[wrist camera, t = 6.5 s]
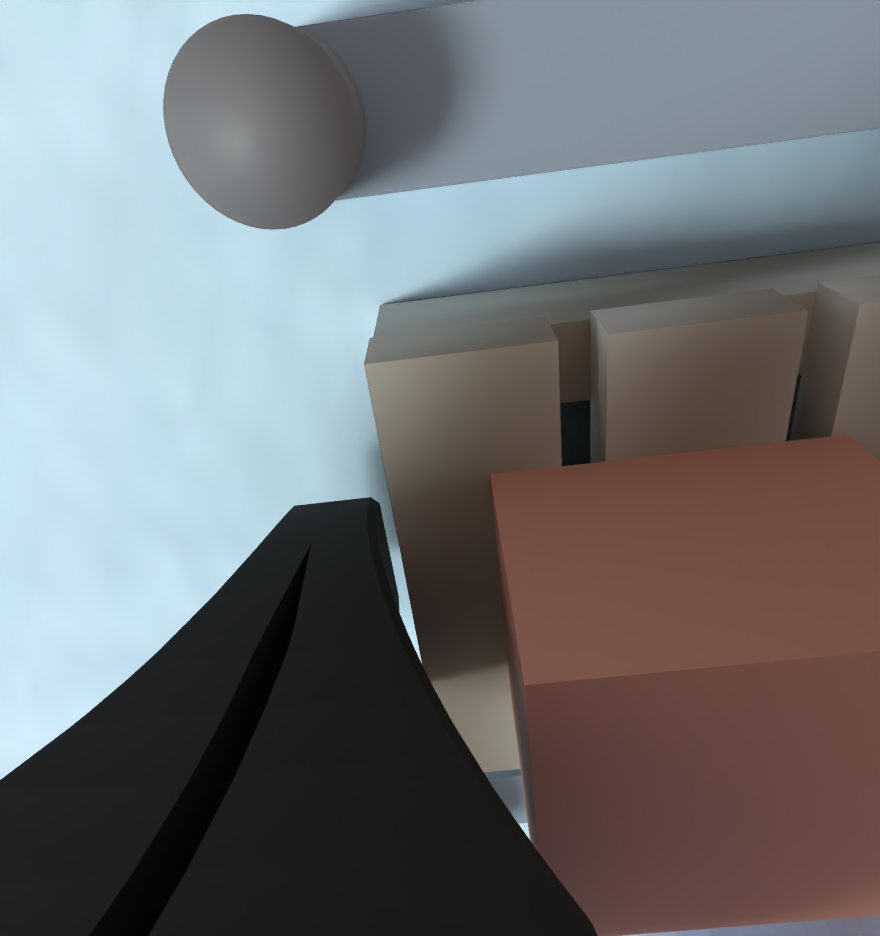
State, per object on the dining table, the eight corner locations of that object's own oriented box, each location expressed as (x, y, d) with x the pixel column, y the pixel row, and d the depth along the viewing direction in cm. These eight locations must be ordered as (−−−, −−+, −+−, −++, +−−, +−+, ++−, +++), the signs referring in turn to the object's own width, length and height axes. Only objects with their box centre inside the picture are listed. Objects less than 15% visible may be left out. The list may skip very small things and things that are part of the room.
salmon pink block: (848, 433, 7) (1084, 631, 5) (790, 679, 9) (931, 911, 7) (490, 474, 7) (524, 685, 5) (511, 706, 9) (543, 942, 7)
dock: (1236, -103, 7) (1616, -190, 5) (913, 718, 13) (1005, 840, 11) (222, 46, 7) (134, 28, 5) (399, 765, 14) (394, 889, 12)
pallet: (910, 230, 8) (1068, 278, 6) (814, 622, 12) (896, 734, 10) (379, 297, 9) (364, 364, 7) (441, 659, 12) (443, 776, 10)
